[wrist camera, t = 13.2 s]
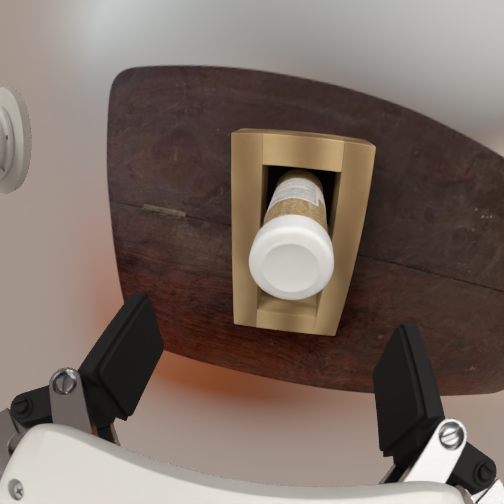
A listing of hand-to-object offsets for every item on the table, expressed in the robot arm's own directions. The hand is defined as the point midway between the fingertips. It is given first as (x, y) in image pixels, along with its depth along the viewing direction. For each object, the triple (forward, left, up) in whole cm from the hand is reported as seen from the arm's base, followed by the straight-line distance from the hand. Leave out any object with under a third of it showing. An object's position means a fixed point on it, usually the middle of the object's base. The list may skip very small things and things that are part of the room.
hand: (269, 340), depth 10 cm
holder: (0, -4, -19) cm, 19 cm away
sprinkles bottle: (0, 0, -19) cm, 19 cm away
